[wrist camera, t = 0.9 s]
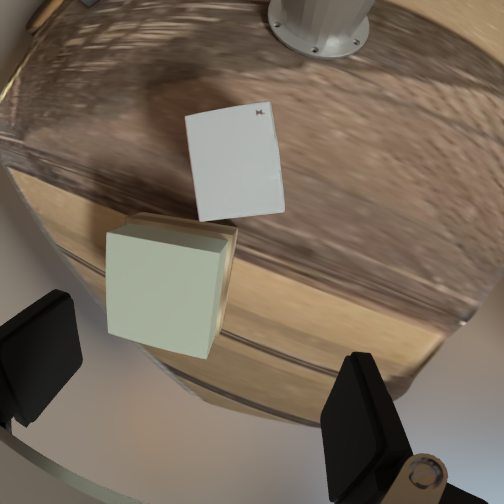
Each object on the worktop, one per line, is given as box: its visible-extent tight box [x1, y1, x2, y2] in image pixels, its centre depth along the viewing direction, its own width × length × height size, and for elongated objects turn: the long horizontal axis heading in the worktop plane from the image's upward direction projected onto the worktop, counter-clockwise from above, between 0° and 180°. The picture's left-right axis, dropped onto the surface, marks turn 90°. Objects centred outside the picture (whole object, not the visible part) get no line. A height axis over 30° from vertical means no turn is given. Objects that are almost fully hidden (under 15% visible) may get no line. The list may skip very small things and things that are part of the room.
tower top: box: [106, 223, 228, 359], centre depth 28 cm, size 11×11×5 cm
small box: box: [184, 101, 285, 222], centre depth 25 cm, size 8×6×13 cm
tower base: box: [125, 212, 238, 338], centre depth 33 cm, size 12×12×5 cm
